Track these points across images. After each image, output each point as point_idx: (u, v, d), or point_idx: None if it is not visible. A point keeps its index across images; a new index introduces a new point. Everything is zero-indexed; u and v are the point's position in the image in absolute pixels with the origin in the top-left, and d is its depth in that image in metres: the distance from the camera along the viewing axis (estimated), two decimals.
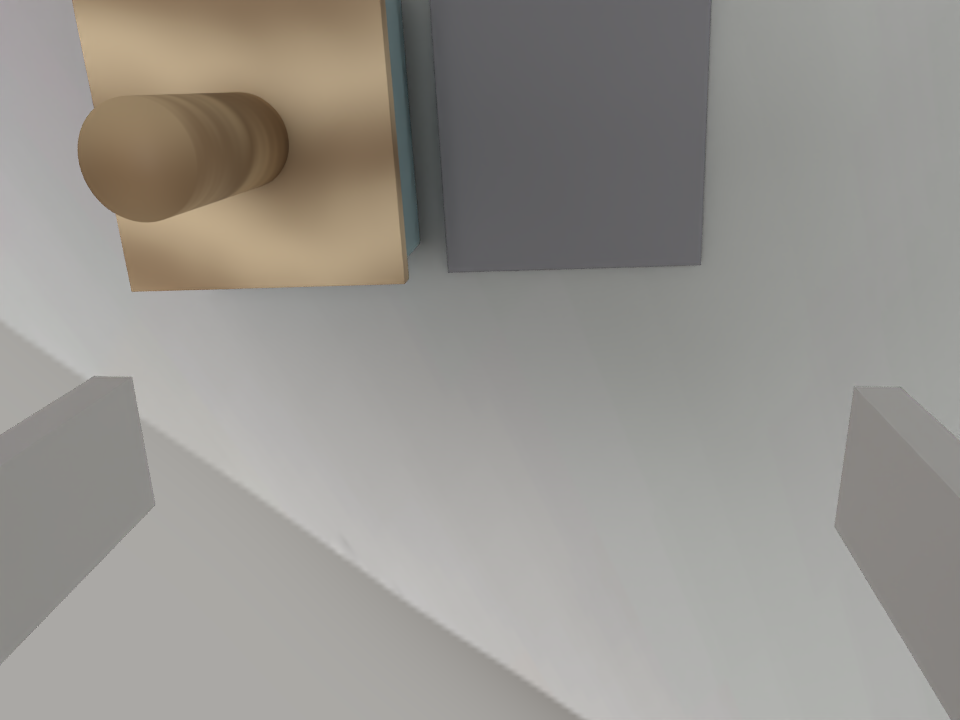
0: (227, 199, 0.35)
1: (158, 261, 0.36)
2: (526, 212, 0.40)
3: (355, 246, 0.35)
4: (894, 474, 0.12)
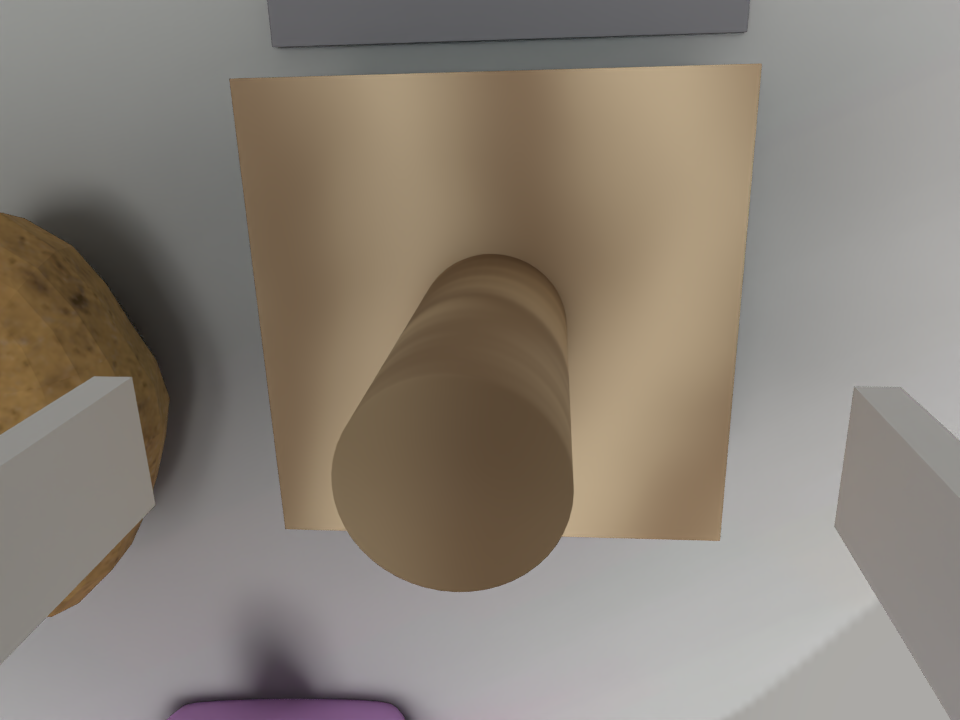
0: (582, 366, 0.21)
1: (674, 491, 0.22)
2: None
3: (680, 155, 0.19)
4: (894, 474, 0.12)
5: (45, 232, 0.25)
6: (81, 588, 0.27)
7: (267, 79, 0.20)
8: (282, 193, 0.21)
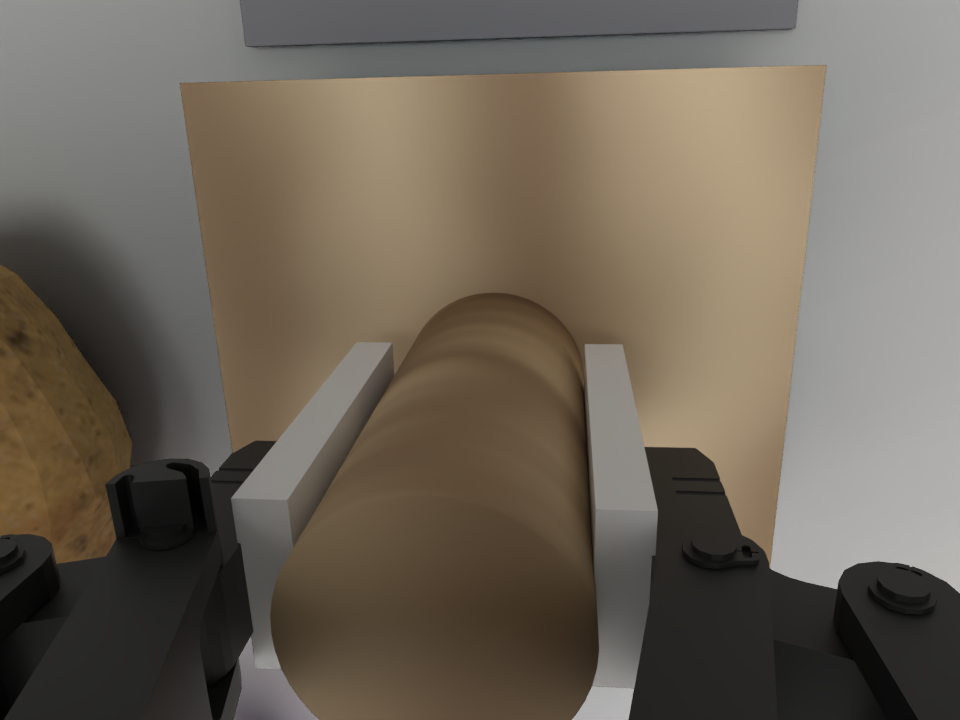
0: None
1: None
2: None
3: (723, 176, 0.16)
4: (586, 411, 0.14)
5: None
6: None
7: (225, 84, 0.16)
8: (244, 220, 0.17)
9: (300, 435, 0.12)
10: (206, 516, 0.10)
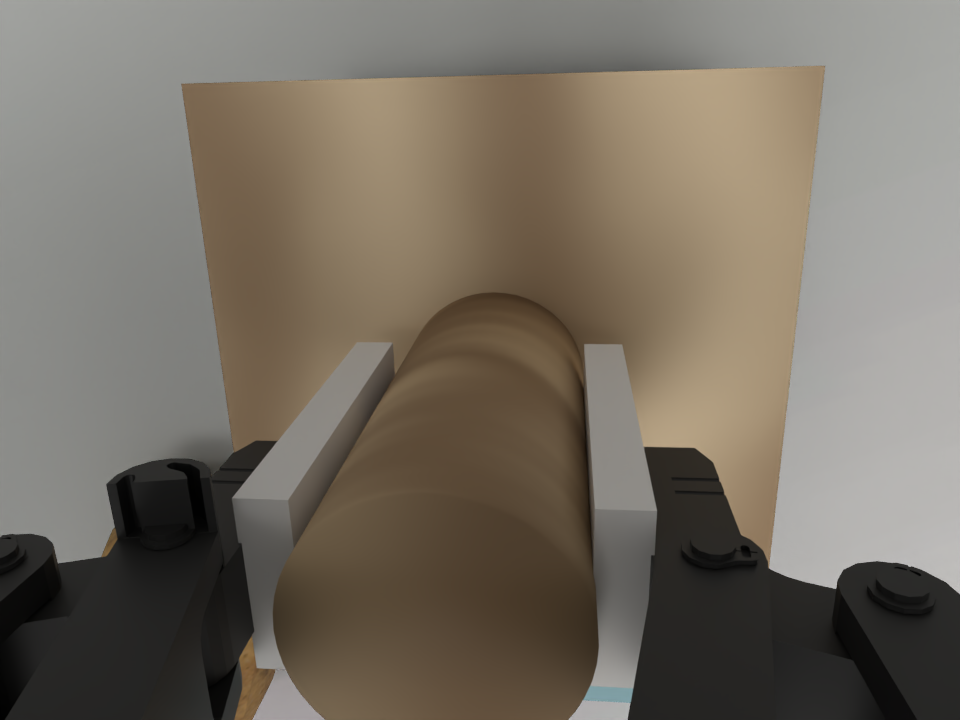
0: None
1: None
2: None
3: (722, 177, 0.16)
4: (585, 411, 0.14)
5: None
6: None
7: (226, 84, 0.16)
8: (246, 220, 0.17)
9: (301, 435, 0.12)
10: (207, 516, 0.10)
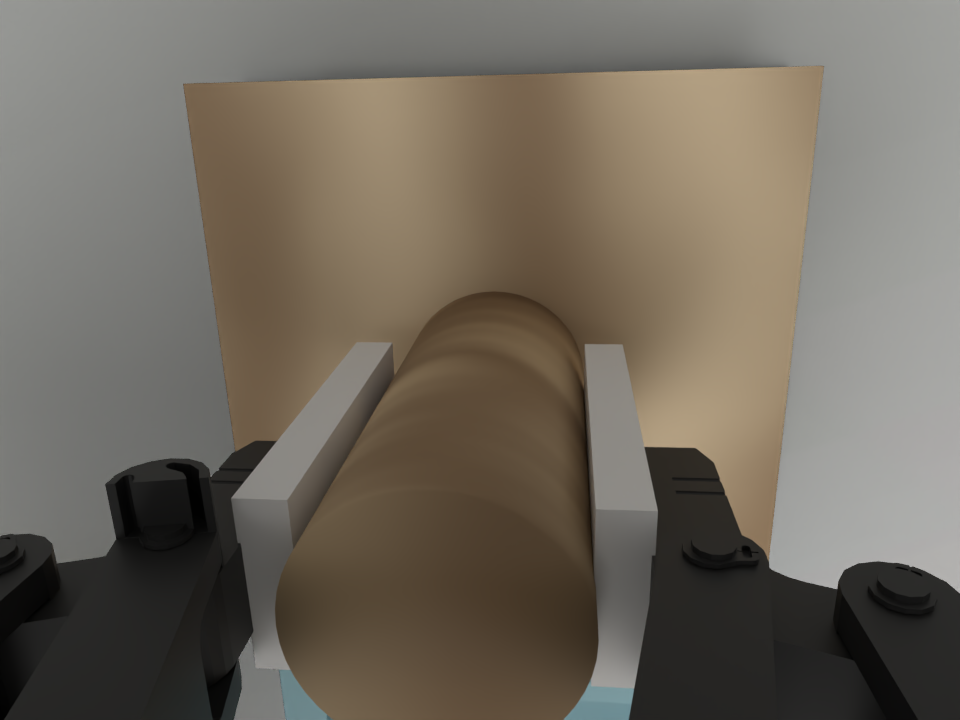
0: None
1: None
2: None
3: (722, 176, 0.16)
4: (586, 411, 0.14)
5: None
6: None
7: (228, 84, 0.17)
8: (247, 219, 0.17)
9: (300, 435, 0.12)
10: (206, 516, 0.10)
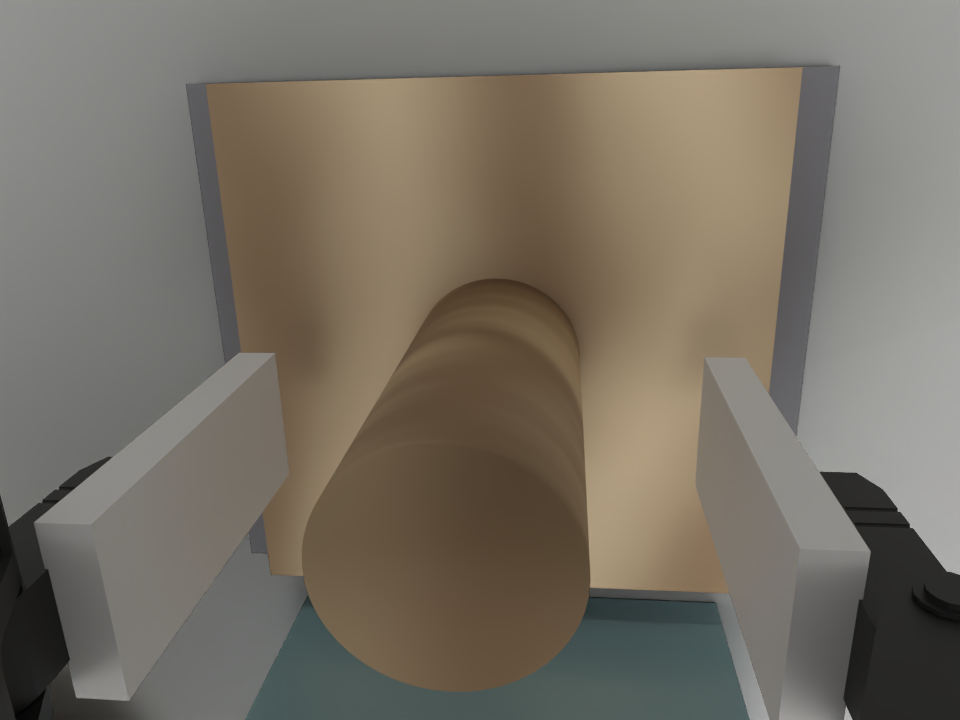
0: (597, 403, 0.19)
1: (698, 539, 0.20)
2: None
3: (708, 170, 0.17)
4: (721, 431, 0.13)
5: None
6: None
7: (247, 84, 0.18)
8: (265, 210, 0.19)
9: (136, 453, 0.12)
10: None
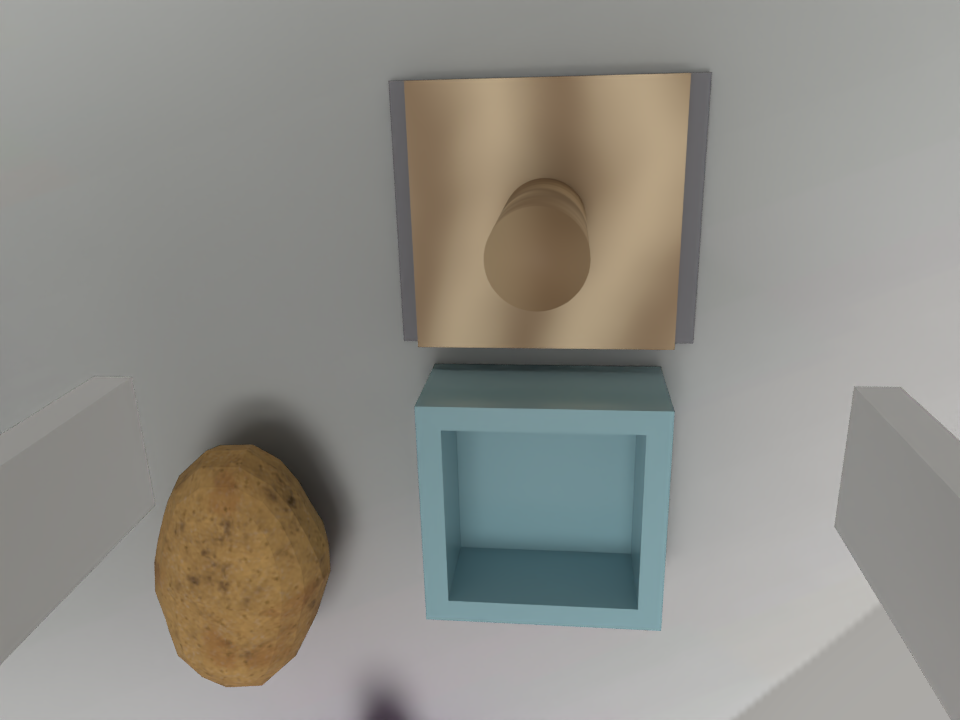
0: (595, 243, 0.38)
1: (647, 318, 0.39)
2: None
3: (648, 122, 0.36)
4: (894, 474, 0.12)
5: (265, 453, 0.42)
6: None
7: (424, 81, 0.36)
8: (429, 144, 0.37)
9: None
10: None
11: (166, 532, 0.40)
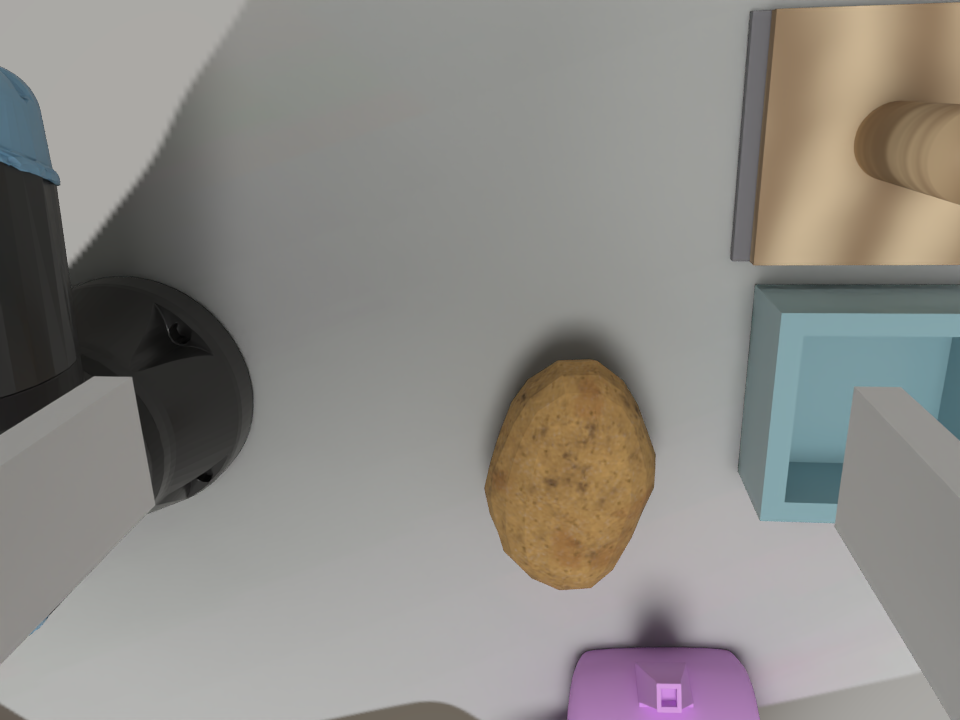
0: None
1: None
2: None
3: None
4: (894, 475, 0.12)
5: None
6: (610, 571, 0.46)
7: (797, 9, 0.39)
8: (792, 69, 0.40)
9: None
10: None
11: (521, 438, 0.43)
